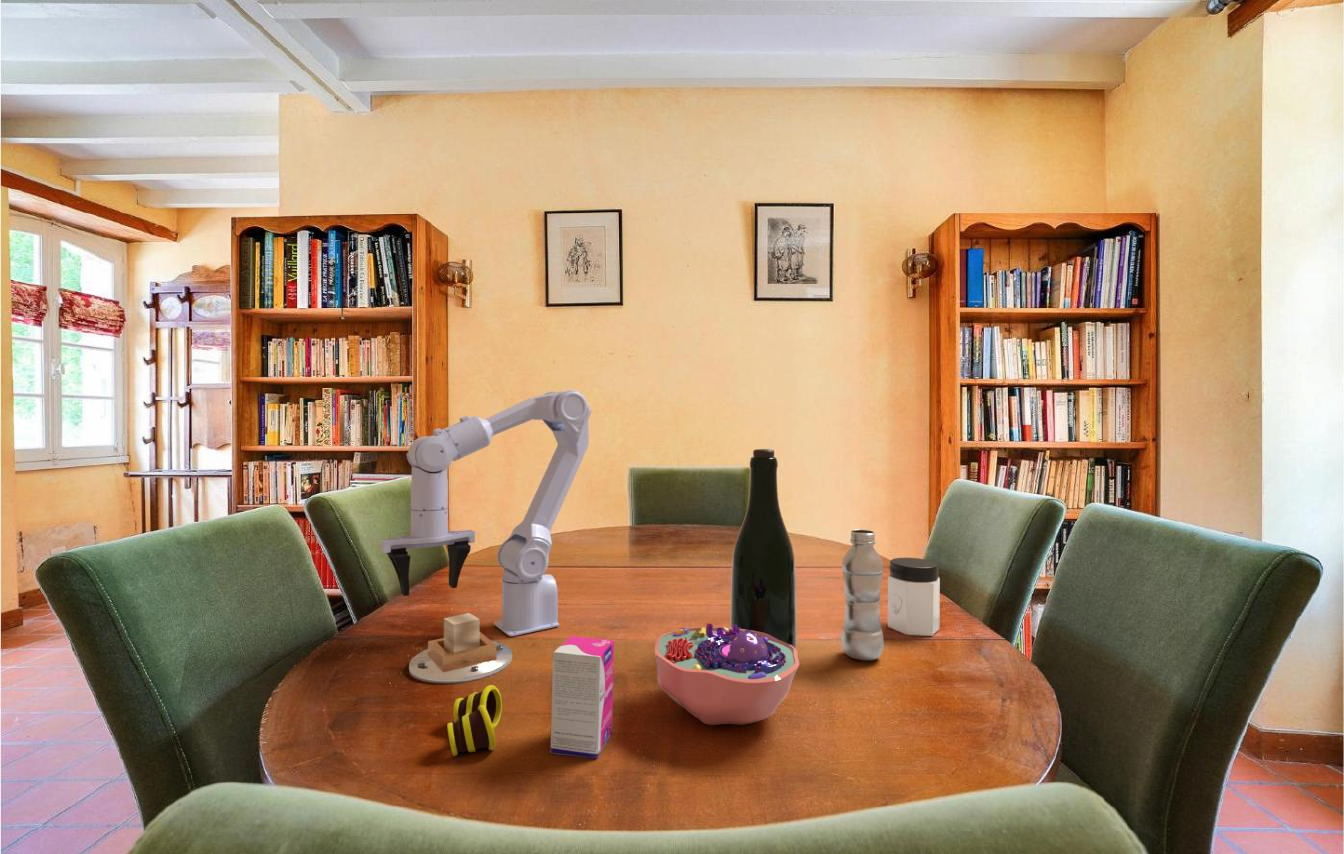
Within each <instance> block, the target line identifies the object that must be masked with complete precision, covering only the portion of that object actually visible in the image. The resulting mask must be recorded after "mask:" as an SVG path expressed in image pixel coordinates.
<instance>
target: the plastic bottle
mask: <svg viewBox="0 0 1344 854" xmlns="http://www.w3.org/2000/svg"><path fill="white" fill-rule="evenodd" d="M849 540H850V543H851V547H850V548H849V549H848V551H847V552H846V553H845V555H844V557H843V559H842V561H841V570H842V576H843V577H842V578H843V583H844V585H843V586H844V597H845V603H844V604H845V607H844V618H843V619H844V620H843V625H842V629H841V631H842V632H841V637H840V641H841V646H842V650H843V651H844V654H846V655H847V656H848V657H850V658H851V659H855V660H860V661H874V660H877V659H878V658H880V656H881V655H882V654H883V650H884V645H885V643H884V642H885V641H884V635H883V629H882V624H881V623H882V622H881V620H882V619H881V609H880V607H881V606H880V605H881V602H880V601H881V590H882V589H881V588H882V583H883V578H884V577H883V575H884V574H883V573H884V568H885V567H884V563H883V560H882V558H881V556H880V555H879V553H878V552H877V550H876V549H875V547H874V545H876V539H875V531H874V530H870V529H851V531H850V539H849Z"/></svg>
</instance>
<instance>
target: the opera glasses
mask: <svg viewBox="0 0 1344 854" xmlns="http://www.w3.org/2000/svg"><path fill="white" fill-rule="evenodd" d="M454 701H455V702H454V705H453V709H452V710H453V713H452V714H453V715H452V716H453V722H454V723H453V722H451V721H450V722H448V723H447V725H446V726H447V733H448V734H447V735H448V740H449V746H450V751H451V753H452V756H453V757H455V756H458V754H459V752H460V753H463V754H464V753H465V752H469V753H473V752H476V750H479V749H485V748H487V749H488V750H489V751H493V750H494V749H495V747H496V734H495V730H494V729H495V728H496V727H497V726H498V724H499V722H500V720H501V716H502V709H503V702H502V701H503V700H502V696H501V692H500V691H499V689H498V688H497V686H495V685H493V684H489V685H487V686H485V687H484V689H483V690H482V691H479V692H477V691H475V692H474V693H473V692H472V693H470V694H469V696H465V697H464V698H463V697H459V698H456V699H455V700H454Z"/></svg>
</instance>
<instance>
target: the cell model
mask: <svg viewBox="0 0 1344 854" xmlns="http://www.w3.org/2000/svg"><path fill="white" fill-rule="evenodd" d="M798 654H799V653H798V650H797V648H796V649H795V648H794V647H793V646H792V645H790V644H788V643H785V642H783V641H781V640H778V639H776V638H774V637H772V636H770V635H768V634H765V633H762V632H757V631H752V630H746V629H740V628H739V627H738V628H737V625H735V624H734V625H733V628H730V627H725V626H722V627H720V626H719V627H714V625H713V624H712V623H710V622H709V623H706V625H705V626H694V627H693V626H692V627H687V628H686V627H681V628H679V629H678V630H674V631H670V632H666V633H664V634H662V635H660V636H658V637H657V639H656V641H655V643H654V655H655V662H656V669H657V670H656V671H657V672H656V675H657V679H656V680H657V685H658V686H659V688H660V689H661V690H663V692H665V693H666V694H667V696H668V697H669V698H671V700H673V701H674V702H675V703H676V704H677V705H679V706H680V707H682V708H683V709H685V710H686V711H687V712H688V713H689V714H690V715H692V716H693V717H695V718H696V719H697V720H699V722H700V723H701V722H702V723H703V724H706V725H710V726H718V725H726V724H727V725H737V726H746V725H750V724H753V723H757V722H760V721H763V720H765V719H766V720H767V719H768V718H770V717H771V716H772V715H774V712H775V711H776V710H777V708H778V707H779V706H780V704H781V703H782V702H783V701H784V700H785V698H786V697H787V695H788V693H789V691H790V690H791V689H790V688H791V685H792V682H793V680H794V677H795V675H796V672H797V670H798V669H799V666H800V660H799V657H798V656H799V655H798Z"/></svg>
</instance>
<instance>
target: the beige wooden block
mask: <svg viewBox="0 0 1344 854" xmlns="http://www.w3.org/2000/svg"><path fill="white" fill-rule="evenodd" d="M480 622H481V621H480V618H478V617H477V616H475V615H473V614H471V613H470V612H467V613H462V614H458V615H453V616H449V617H448V616H447V617H444V618H443V638H444V650H445V651H446V652H447V653H448V654H449V653H453V652H458V651H462V650H467V649H472V648H476V647H480V632H481V631H480V627H481V626H480Z"/></svg>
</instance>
